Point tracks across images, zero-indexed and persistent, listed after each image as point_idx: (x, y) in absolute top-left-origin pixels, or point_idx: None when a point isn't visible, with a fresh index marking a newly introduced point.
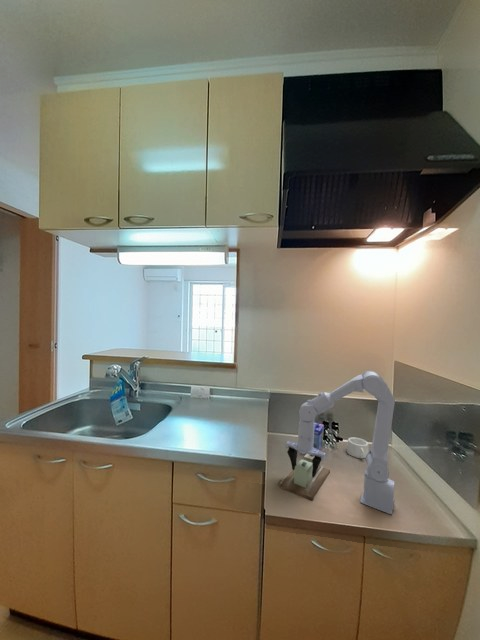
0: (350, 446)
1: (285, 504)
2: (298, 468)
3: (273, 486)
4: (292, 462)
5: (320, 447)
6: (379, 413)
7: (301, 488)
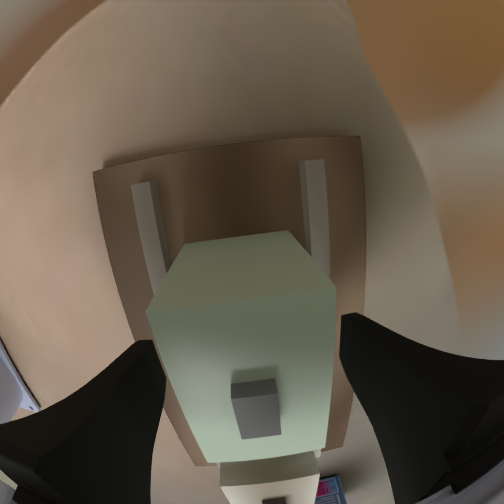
0: None
1: (219, 10)
2: (275, 294)
3: (382, 117)
4: (392, 343)
5: None
6: None
7: (203, 210)
